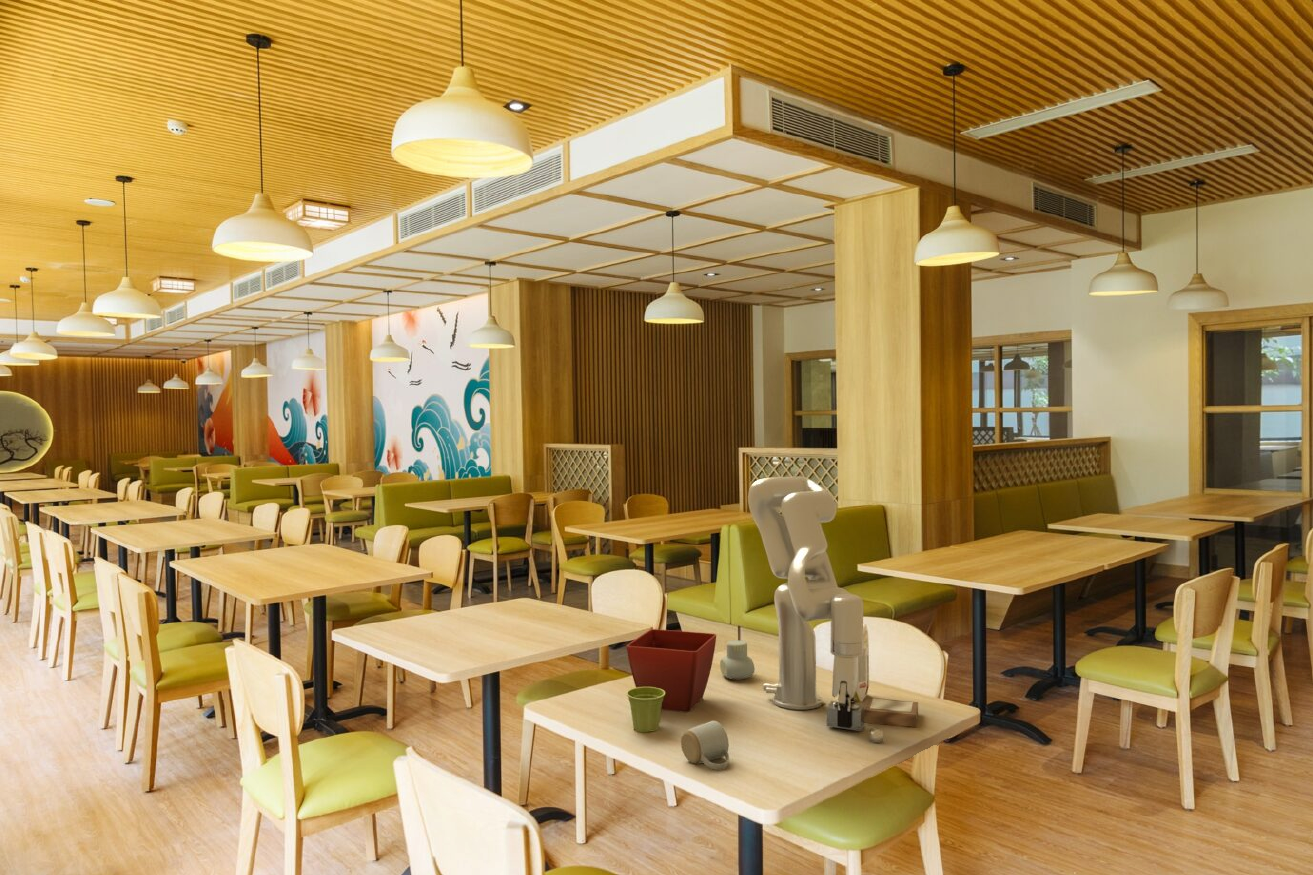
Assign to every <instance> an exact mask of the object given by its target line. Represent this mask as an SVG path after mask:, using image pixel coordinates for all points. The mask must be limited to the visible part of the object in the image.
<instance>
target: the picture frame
mask: <svg viewBox="0 0 1313 875" xmlns="http://www.w3.org/2000/svg"><path fill="white" fill-rule="evenodd" d="M918 718H919V701H910V700H909V701H908V700H897V699H889V698H888V699H887V698H877V697H868V698H867V702H866V704H865V723H869V724H880V725H886V726H887V725H889V726H897V727H898V726H900V727H907V726H911V727H910V728H917V725H918Z"/></svg>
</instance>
